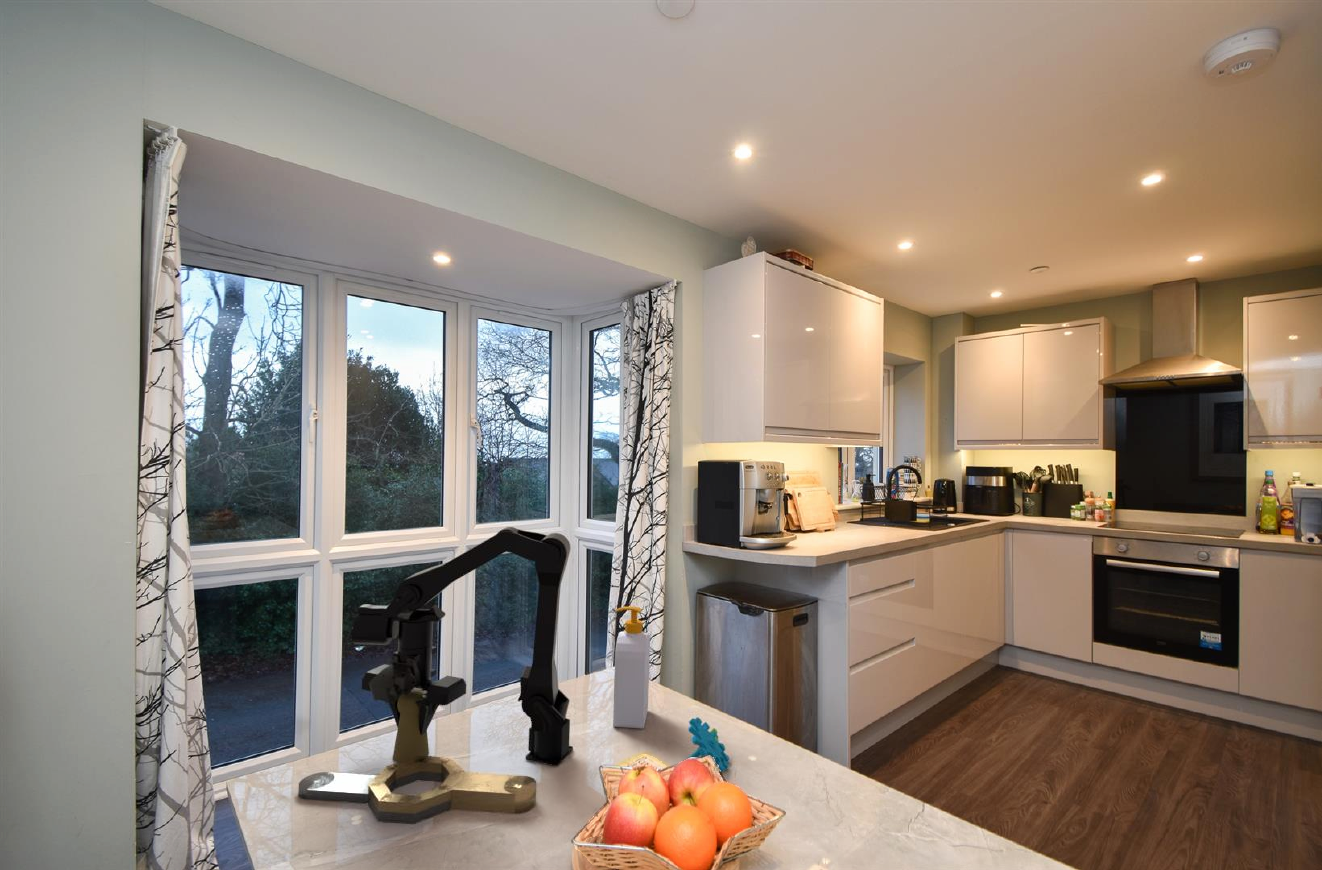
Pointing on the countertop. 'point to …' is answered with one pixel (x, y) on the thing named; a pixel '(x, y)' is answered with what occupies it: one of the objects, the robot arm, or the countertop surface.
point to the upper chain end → (454, 789)
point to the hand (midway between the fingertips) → (411, 732)
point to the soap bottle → (631, 674)
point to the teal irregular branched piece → (707, 743)
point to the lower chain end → (356, 791)
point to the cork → (409, 729)
